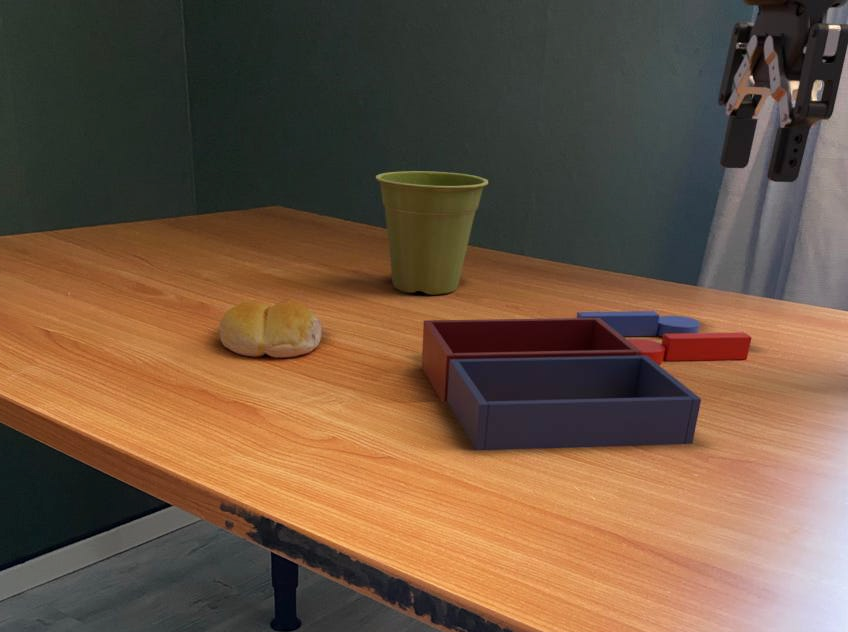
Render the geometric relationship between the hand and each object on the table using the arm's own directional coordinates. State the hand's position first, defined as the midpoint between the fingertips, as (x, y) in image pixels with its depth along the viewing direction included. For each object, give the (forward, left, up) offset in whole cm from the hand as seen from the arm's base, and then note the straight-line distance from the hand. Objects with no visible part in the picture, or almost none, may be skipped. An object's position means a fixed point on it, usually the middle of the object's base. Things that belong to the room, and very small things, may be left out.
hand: (756, 174), depth 80 cm
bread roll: (+39, -7, -15) cm, 43 cm away
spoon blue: (+4, -9, -15) cm, 18 cm away
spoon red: (+3, -1, -15) cm, 15 cm away
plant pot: (+21, -29, -15) cm, 39 cm away
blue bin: (+19, +17, -15) cm, 30 cm away
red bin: (+19, +6, -15) cm, 25 cm away
